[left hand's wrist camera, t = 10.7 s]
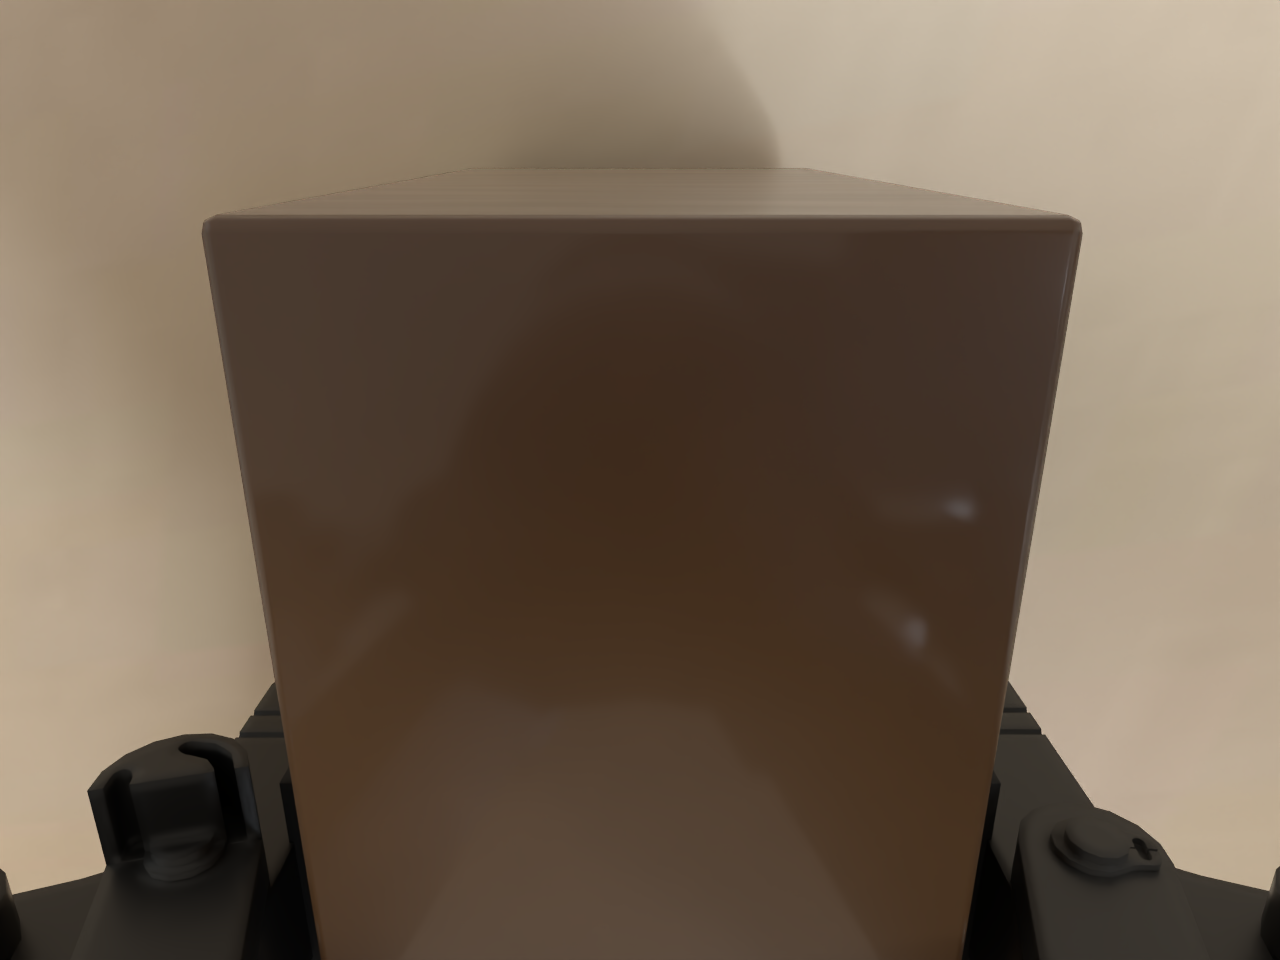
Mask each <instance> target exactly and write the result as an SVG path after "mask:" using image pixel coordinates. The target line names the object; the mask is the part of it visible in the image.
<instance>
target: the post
mask: <svg viewBox="0 0 1280 960" xmlns="http://www.w3.org/2000/svg"><path fill="white" fill-rule="evenodd" d="M202 238H203V244H204V250H205V256H206V262H207V268H208V274H209V281H210V287H211V293H212V299H213V305H214V311H215V317H216V323H217V329H218V335H219V341H220V348H221V354H222V360H223V366H224V372H225V378H226V384H227V390H228V396H229V402H230V409H231V415H232V421H233V427H234V433H235V439H236V445H237V451H238V457H239V463H240V470H241V476H242V482H243V488H244V494H245V500H246V506H247V512H248V518H249V524H250V531H251V537H252V543H253V549H254V555H255V561H256V567H257V573H258V579H259V585H260V591H261V598H262V604H263V610H264V616H265V622H266V628H267V634H268V640H269V646H270V652H271V659H272V665H273V671H274V677H275V683H276V689H277V695H278V701H279V707H280V713H281V720H282V726H283V732H284V738H285V744H286V750H287V756H288V762H289V768H290V774H291V781H292V787H293V793H294V799H295V805H296V811H297V817H298V823H299V829H300V835H301V842H302V848H303V854H304V860H305V866H306V872H307V878H308V884H309V890H310V896H311V902H312V909H313V915H314V921H315V927H316V933H317V939H318V945H319V951H320V957H321V960H962V955H963V949H964V943H965V937H966V930H967V924H968V918H969V912H970V906H971V900H972V894H973V888H974V882H975V876H976V870H977V864H978V858H979V852H980V846H981V840H982V834H983V828H984V822H985V816H986V810H987V804H988V798H989V792H990V786H991V780H992V774H993V768H994V762H995V756H996V750H997V744H998V738H999V732H1000V726H1001V720H1002V714H1003V708H1004V702H1005V696H1006V690H1007V684H1008V678H1009V672H1010V666H1011V660H1012V654H1013V648H1014V642H1015V636H1016V630H1017V624H1018V618H1019V612H1020V606H1021V600H1022V594H1023V588H1024V582H1025V576H1026V570H1027V564H1028V558H1029V552H1030V546H1031V540H1032V534H1033V528H1034V522H1035V516H1036V510H1037V504H1038V498H1039V492H1040V486H1041V480H1042V474H1043V468H1044V462H1045V456H1046V450H1047V444H1048V438H1049V432H1050V426H1051V420H1052V414H1053V408H1054V402H1055V396H1056V390H1057V384H1058V378H1059V372H1060V366H1061V360H1062V354H1063V348H1064V342H1065V336H1066V330H1067V324H1068V318H1069V312H1070V306H1071V300H1072V294H1073V288H1074V282H1075V276H1076V270H1077V264H1078V258H1079V252H1080V246H1081V240H1082V227H1081V223H1080V221H1079V220H1077V219H1075V218H1073V217H1071V216H1069V215H1065V214H1059V213H1054V212H1048V211H1042V210H1037V209H1031V208H1026V207H1020V206H1014V205H1009V204H1003V203H998V202H992V201H986V200H981V199H975V198H969V197H964V196H958V195H953V194H947V193H941V192H936V191H930V190H925V189H919V188H913V187H908V186H902V185H897V184H891V183H885V182H880V181H874V180H868V179H863V178H857V177H852V176H846V175H840V174H835V173H829V172H824V171H818V170H812V169H807V168H472V169H466V170H461V171H455V172H450V173H444V174H439V175H433V176H428V177H422V178H417V179H411V180H406V181H400V182H395V183H389V184H384V185H378V186H373V187H367V188H362V189H356V190H351V191H345V192H339V193H334V194H328V195H323V196H317V197H312V198H306V199H301V200H295V201H290V202H284V203H279V204H273V205H268V206H262V207H257V208H251V209H246V210H240V211H235V212H229V213H224V214H218V215H215V216H213V217H211V218H208V219H206V220H205V221H204V223H203V229H202Z"/></svg>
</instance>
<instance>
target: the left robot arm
mask: <svg viewBox="0 0 1280 960" xmlns="http://www.w3.org/2000/svg"><path fill="white" fill-rule="evenodd" d="M87 792H88V796H89V800H90V803H91V807H92V811H93V815H94V819H95V823H96V827H97V830H98V834H99V838H100V842H101V846H102V850H103V854H104V857H105V861H106V865H107V866H106V868H105V871H104V872H103V873H99V874H96V875H93V876H89V877H86V878H83V879H79V880H75V881H70V882H66V883H62V884H57V885H53V886H49V887H44V888H40V889H35V890H31V891H27V892H22V893H18V894H14V895H12V893H11V890H10V886H9V883H8V880H7V877H6V873H5V872H4V871H2V870H1V869H0V960H321V957H320V951H319V945H318V939H317V933H316V927H315V921H314V915H313V909H312V902H311V896H310V890H309V884H308V878H307V872H306V866H305V860H304V854H303V848H302V842H301V835H300V829H299V823H298V817H297V811H296V805H295V799H294V793H293V787H292V781H291V774H290V768H289V762H288V756H287V750H286V744H285V738H284V732H283V726H282V720H281V713H280V707H279V701H278V695H277V689H276V683H273V684H272V685H271V687H270V688H269V690H268V691H267V693H266V694H265V696H264V697H263V699H262V700H261V701H260V703H259V704H258V706H257V707H256V709H255V710H254V716H250V718H249V719H248V721H247V722H246V724H245V725H244V727H243V728H242V729H241V731H240V736H239V738H235V740H234V739H232V738H228V737H224V736H220V735H216V734H186V735H181V736H176V737H172V738H168V739H164V740H160V741H156V742H153V743H151V744H148V745H146V746H144V747H142V748H139V749H137V750H135V751H133V752H130V753H128V754H126V755H124V756H123V757H122V758H120V759H119V760H117V761H116V762H115V763H113V764H112V765H111V766H109V767H108V768H106V769H105V770H104V771H102V772H101V773H100V775H99V776H98V777H97V779H96V780H95V781H94V783H93V784H92V785H91V787H90V788H89V789H88V791H87ZM962 960H1280V866H1279V867H1278V868H1277V869H1276V872H1275V875H1274V878H1273V881H1272V885H1271V888H1270V891H1266V890H1261V889H1257V888H1253V887H1248V886H1244V885H1240V884H1235V883H1231V882H1226V881H1222V880H1218V879H1213V878H1209V877H1204V876H1200V875H1197V874H1194V873H1190V872H1187V871H1183V870H1180V869H1177V868H1175V867H1174V864H1173V863H1172V861H1171V860H1170V858H1169V857H1168V855H1167V853H1166V852H1165V850H1164V849H1163V847H1162V846H1161V844H1160V843H1158V842H1157V841H1156V840H1155V839H1154V838H1152V837H1151V836H1150V835H1149V834H1148V833H1146V832H1145V831H1144V830H1143V829H1141V828H1140V827H1139V826H1138V825H1136V824H1134V823H1132V822H1130V821H1128V820H1126V819H1124V818H1122V817H1120V816H1118V815H1116V814H1114V813H1112V812H1110V811H1106V810H1103V809H1099V808H1095V807H1094V806H1093V804H1092V803H1091V801H1090V800H1089V798H1088V797H1087V795H1086V794H1085V793H1084V791H1083V790H1082V788H1081V787H1080V785H1079V784H1078V782H1077V781H1076V779H1075V778H1074V776H1073V775H1072V774H1071V772H1070V771H1069V769H1068V768H1067V766H1066V765H1065V763H1064V762H1063V760H1062V759H1061V757H1060V756H1059V754H1058V753H1057V752H1056V750H1055V749H1054V747H1053V746H1052V744H1051V743H1050V741H1049V740H1048V738H1047V737H1046V735H1042V734H1041V728H1040V727H1039V725H1038V724H1037V722H1036V721H1035V719H1034V718H1033V716H1032V715H1031V713H1027V710H1026V706H1025V705H1024V703H1023V702H1022V700H1021V699H1020V697H1019V696H1018V694H1017V693H1016V691H1015V690H1014V689H1013V687H1012V686H1011V684H1010V683H1009V681H1008V684H1007V690H1006V696H1005V702H1004V708H1003V714H1002V720H1001V726H1000V732H999V738H998V744H997V750H996V756H995V762H994V768H993V774H992V780H991V786H990V792H989V798H988V804H987V810H986V816H985V822H984V828H983V834H982V840H981V846H980V852H979V858H978V864H977V870H976V876H975V882H974V888H973V894H972V900H971V906H970V912H969V918H968V924H967V930H966V937H965V943H964V949H963V955H962Z"/></svg>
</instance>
